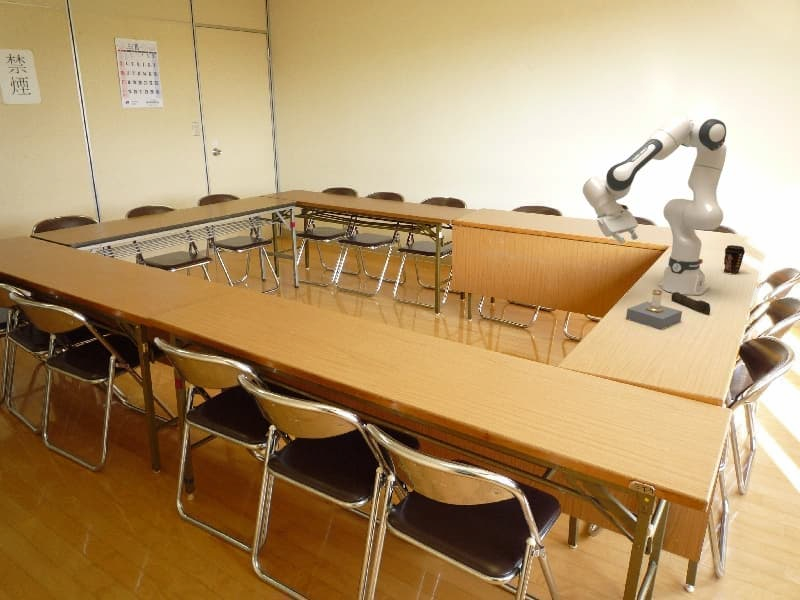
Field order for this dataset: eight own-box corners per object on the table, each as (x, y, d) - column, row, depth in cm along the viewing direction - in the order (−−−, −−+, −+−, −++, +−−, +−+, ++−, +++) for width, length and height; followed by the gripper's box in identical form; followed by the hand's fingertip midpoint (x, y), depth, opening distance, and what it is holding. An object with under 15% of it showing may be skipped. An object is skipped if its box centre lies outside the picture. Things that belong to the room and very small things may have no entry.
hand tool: (669, 301, 243) (671, 290, 241) (678, 300, 244) (679, 289, 242) (702, 316, 225) (704, 305, 224) (711, 315, 226) (713, 304, 225)
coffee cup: (725, 269, 290) (730, 243, 286) (743, 273, 284) (748, 247, 280) (717, 272, 284) (722, 246, 280) (735, 276, 278) (741, 249, 274)
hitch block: (645, 311, 229) (647, 301, 228) (680, 321, 219) (682, 311, 218) (625, 318, 221) (627, 308, 220) (661, 329, 211) (662, 319, 210)
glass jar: (650, 315, 224) (654, 287, 220) (664, 319, 220) (668, 291, 216) (642, 318, 221) (646, 290, 217) (656, 322, 216) (660, 294, 213)
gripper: (600, 211, 227) (620, 240, 223) (629, 205, 239) (648, 232, 236) (589, 221, 232) (609, 249, 228) (618, 214, 244) (637, 241, 240)
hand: (629, 240), depth 232 cm, fingers open, 8 cm apart
